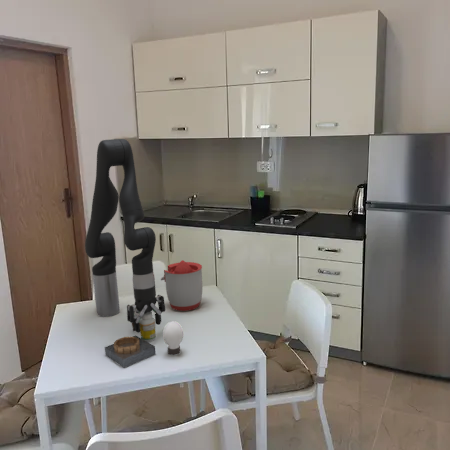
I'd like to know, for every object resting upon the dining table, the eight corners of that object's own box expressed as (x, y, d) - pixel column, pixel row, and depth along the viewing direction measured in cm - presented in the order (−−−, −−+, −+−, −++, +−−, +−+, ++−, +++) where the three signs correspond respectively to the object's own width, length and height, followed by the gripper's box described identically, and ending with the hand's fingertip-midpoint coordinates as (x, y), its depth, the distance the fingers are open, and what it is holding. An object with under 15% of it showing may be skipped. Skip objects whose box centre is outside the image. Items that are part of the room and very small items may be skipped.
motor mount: (105, 355, 157) (103, 341, 156) (136, 343, 164) (135, 330, 163) (123, 368, 148) (122, 353, 147) (155, 354, 156) (154, 340, 155)
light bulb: (166, 359, 152) (163, 327, 150) (162, 349, 159) (160, 319, 156) (186, 355, 154) (184, 324, 152) (182, 346, 160) (180, 316, 158)
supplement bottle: (155, 341, 165) (153, 316, 163) (140, 342, 165) (137, 316, 163) (156, 334, 170) (154, 310, 168) (142, 335, 170) (139, 310, 168)
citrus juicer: (168, 299, 205) (164, 255, 201) (207, 299, 202) (204, 254, 198) (158, 313, 190) (154, 266, 186) (200, 314, 187) (197, 266, 183)
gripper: (155, 277, 171) (158, 319, 174) (120, 287, 161) (124, 331, 165) (167, 281, 165) (170, 324, 168) (132, 292, 156) (136, 337, 159)
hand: (148, 328), depth 167 cm, fingers open, 8 cm apart
